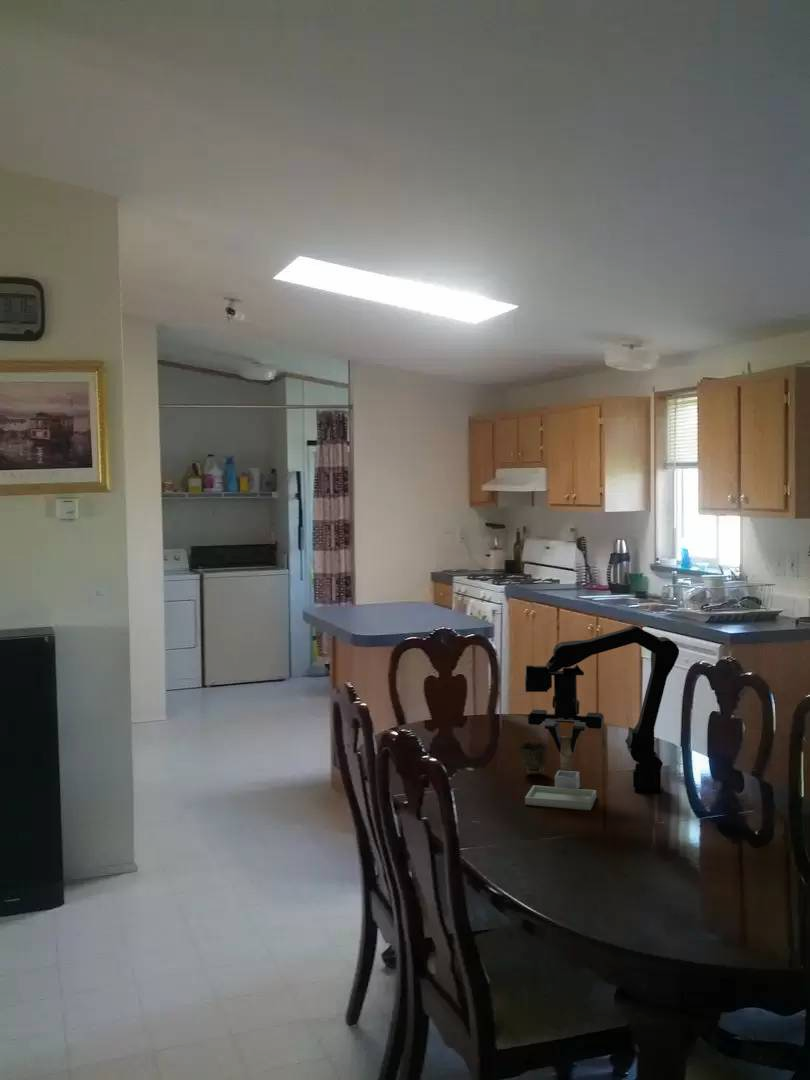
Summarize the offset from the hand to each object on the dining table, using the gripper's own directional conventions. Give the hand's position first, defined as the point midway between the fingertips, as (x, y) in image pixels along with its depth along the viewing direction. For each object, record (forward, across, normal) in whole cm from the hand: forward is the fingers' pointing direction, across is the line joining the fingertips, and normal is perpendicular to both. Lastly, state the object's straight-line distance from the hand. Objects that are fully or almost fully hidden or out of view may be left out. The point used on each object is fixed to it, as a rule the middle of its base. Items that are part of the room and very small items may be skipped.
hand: (566, 751), depth 240 cm
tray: (+10, 0, +10) cm, 14 cm away
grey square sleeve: (+10, 0, 0) cm, 10 cm away
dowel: (+4, 0, 0) cm, 4 cm away
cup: (+10, +11, -11) cm, 18 cm away
